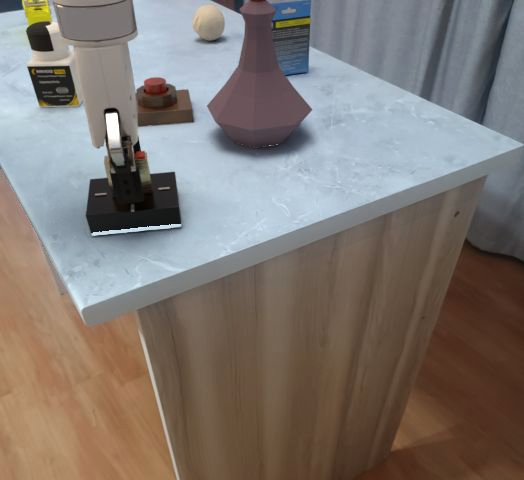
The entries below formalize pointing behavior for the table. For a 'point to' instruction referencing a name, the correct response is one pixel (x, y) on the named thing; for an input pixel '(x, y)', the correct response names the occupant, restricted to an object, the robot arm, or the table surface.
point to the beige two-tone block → (144, 170)
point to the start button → (155, 86)
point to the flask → (258, 87)
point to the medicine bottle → (52, 67)
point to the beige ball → (208, 22)
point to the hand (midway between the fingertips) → (130, 182)
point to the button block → (164, 107)
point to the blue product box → (292, 36)
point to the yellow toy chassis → (37, 11)
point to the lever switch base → (133, 206)
